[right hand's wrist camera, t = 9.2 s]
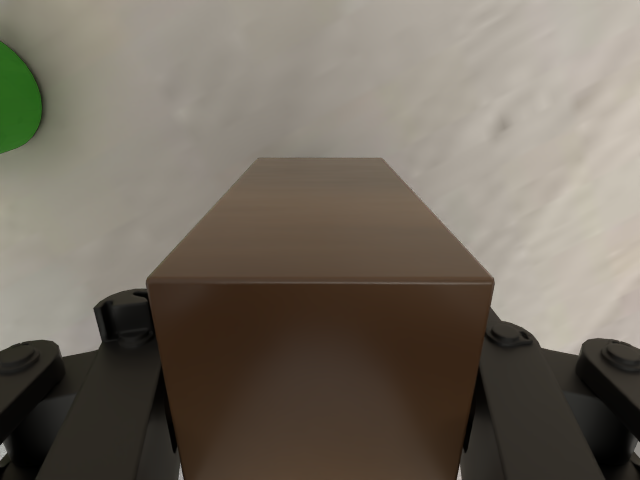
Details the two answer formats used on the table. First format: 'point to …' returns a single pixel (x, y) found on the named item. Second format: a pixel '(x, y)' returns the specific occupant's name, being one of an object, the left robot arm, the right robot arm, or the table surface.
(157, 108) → the table surface
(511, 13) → the table surface
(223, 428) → the bar
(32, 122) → the potted flower
